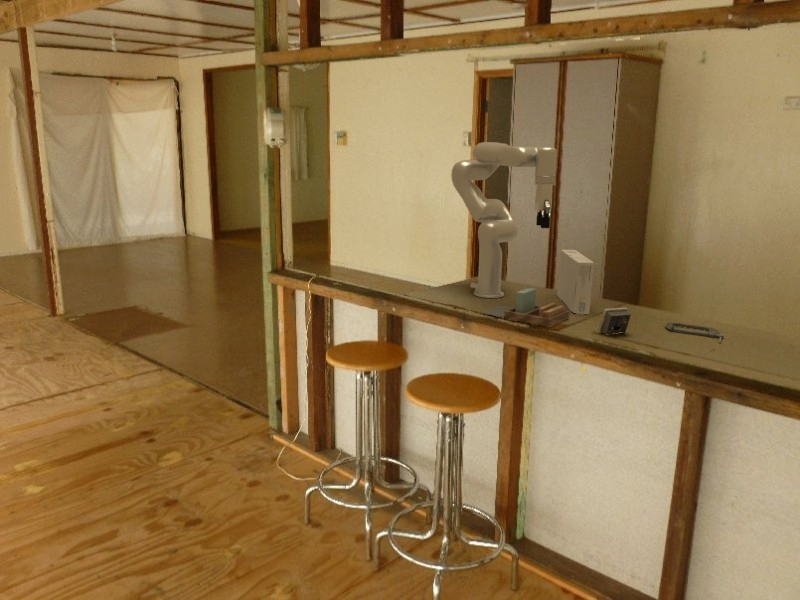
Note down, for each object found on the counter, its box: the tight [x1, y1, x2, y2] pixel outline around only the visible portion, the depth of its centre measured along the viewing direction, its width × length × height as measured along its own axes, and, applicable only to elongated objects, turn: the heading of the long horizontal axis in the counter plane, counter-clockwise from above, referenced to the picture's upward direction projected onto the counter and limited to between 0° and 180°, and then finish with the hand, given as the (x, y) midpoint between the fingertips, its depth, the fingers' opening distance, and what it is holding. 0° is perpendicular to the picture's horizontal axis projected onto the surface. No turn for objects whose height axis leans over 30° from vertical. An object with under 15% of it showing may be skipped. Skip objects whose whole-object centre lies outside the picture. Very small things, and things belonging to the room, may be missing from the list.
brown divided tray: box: [503, 304, 571, 328], centre depth 247 cm, size 18×16×3 cm
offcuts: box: [539, 302, 565, 318], centre depth 244 cm, size 5×12×6 cm, turn 143°
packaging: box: [556, 249, 595, 315], centre depth 268 cm, size 30×6×20 cm, turn 179°
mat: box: [480, 304, 515, 318], centre depth 256 cm, size 9×16×1 cm, turn 143°
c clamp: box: [664, 322, 725, 345], centre depth 233 cm, size 20×17×3 cm
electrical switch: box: [597, 307, 632, 336], centre depth 229 cm, size 9×5×9 cm, turn 108°
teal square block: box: [514, 287, 537, 314], centre depth 249 cm, size 3×10×10 cm, turn 143°
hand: (542, 226), depth 255 cm, fingers open, 9 cm apart
